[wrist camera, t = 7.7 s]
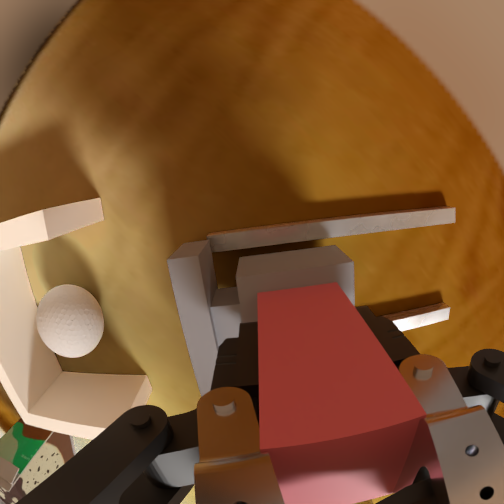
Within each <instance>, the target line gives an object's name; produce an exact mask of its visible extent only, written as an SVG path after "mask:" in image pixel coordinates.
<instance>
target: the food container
mask: <svg viewBox="0 0 504 504" xmlns="http://www.w3.org/2000/svg"><path fill="white" fill-rule="evenodd" d="M74 455H76V452H75V447H74V442H73V437H72V436H71V435H66V434H62V433H58V432H54V431H50V430H46V429H42V428H38V427H35V426H31V425H28V424H25V422H24V421H23V419H22V418H21V419H20V420H19V421H18V422H17V423H16V424H15V425H14V426H13V427H12V428H11V429H10V430H9V431H8V432H7V433H6V434H5V435H4V436H3V437H2V438H1V439H0V504H15V503H16V502H18V501H19V500H20V499H22V498H23V497H24V496H25V495H27V494H28V493H29V492H30V491H32V490H33V489H34V488H35V487H37V486H38V485H39V484H40V483H42V482H43V481H44V480H45V479H47V478H48V477H49V476H50V475H51V474H53V473H54V472H55V471H56V470H58V469H59V468H60V467H61V466H62V465H64V464H65V463H66V462H67V461H68V460H70V459H71V458H72V457H73V456H74Z"/></svg>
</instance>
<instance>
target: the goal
mask: <svg viewBox="0 0 504 504" xmlns="http://www.w3.org/2000/svg"><path fill="white" fill-rule="evenodd" d="M103 220H104V217H103V211H102V205H101V199H100V198H96V199H91V200H85V201H80V202H75V203H71V204H66V205H61V206H56V207H52V208H47V209H43V210H40V211H36V212H33V213H30V214H26V215H23V216H20V217H17V218H14V219H11V220H8V221H5V222H2V223H0V382H1V383H2V385H3V387H4V389H5V391H6V393H7V394H8V396H9V398H10V400H11V401H12V403H13V405H14V406H15V408H16V410H17V411H18V413H19V415H20V416H21V418H22V419H23V421H24V422H25V424H28V425H31V426H35V427H38V428H42V429H46V430H50V431H54V432H58V433H62V434H66V435H71V436H76V437H81V438H86V439H91V440H93V439H94V438H96V437H97V436H98V435H99V434H100V433H101V432H102V431H104V430H105V429H106V428H107V427H108V426H109V425H111V424H112V423H113V422H114V421H115V420H116V419H117V418H119V417H120V416H121V415H122V414H123V413H124V412H126V411H127V410H129V409H131V408H133V407H137V406H141V405H146V403H147V401H148V399H149V396H150V394H151V392H152V387H151V385H150V382H149V379H148V377H147V375H116V374H93V373H78V372H66V371H62V369H61V366H60V364H59V362H58V360H57V357H56V355H55V353H54V352H53V351H52V350H51V349H49V348H48V347H47V346H46V344H45V343H44V342H43V340H42V338H41V337H40V334H39V332H38V329H37V323H36V313H37V305H36V302H35V299H34V296H33V292H32V289H31V286H30V282H29V279H28V275H27V272H26V268H25V264H24V260H23V256H22V252H21V247H20V246H25V245H29V244H33V243H38V242H42V241H47V240H50V239H53V238H55V237H58V236H61V235H63V234H66V233H69V232H72V231H74V230H77V229H80V228H83V227H86V226H88V225H91V224H94V223H97V222H100V221H103Z"/></svg>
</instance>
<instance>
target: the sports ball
mask: <svg viewBox="0 0 504 504" xmlns="http://www.w3.org/2000/svg"><path fill="white" fill-rule="evenodd" d="M36 323H37V329H38V332H39V334H40V337H41V338H42V340H43V342H44V343H45V344H46V346H47V347H48V348H49V349H51V350H52V351H53V352H55V353H57V354H58V355H61V356H64V357H69V358H76V357H81V356H84V355H86V354H88V353H89V352H91V351H92V350H93V349H94V348H95V347H96V346H97V345H98V343H99V341H100V339H101V337H102V334H103V329H104V318H103V313H102V310H101V307H100V305H99V303H98V302H97V300H96V299H95V298H94V297H93V295H92V294H91V293H89V292H88V291H87V290H85V289H84V288H82V287H79V286H76V285H71V284H64V285H59V286H56V287H54V288H52V289H51V290H49V291H48V292H47V293H46V294H45V295H44V296H43V298H42V299H41V301H40V303H39V305H38V308H37V313H36Z"/></svg>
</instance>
